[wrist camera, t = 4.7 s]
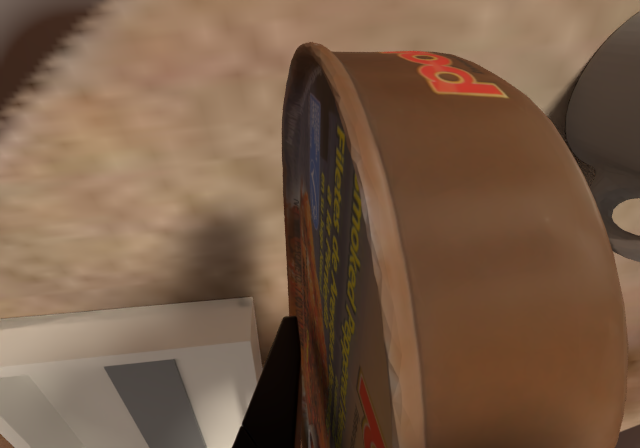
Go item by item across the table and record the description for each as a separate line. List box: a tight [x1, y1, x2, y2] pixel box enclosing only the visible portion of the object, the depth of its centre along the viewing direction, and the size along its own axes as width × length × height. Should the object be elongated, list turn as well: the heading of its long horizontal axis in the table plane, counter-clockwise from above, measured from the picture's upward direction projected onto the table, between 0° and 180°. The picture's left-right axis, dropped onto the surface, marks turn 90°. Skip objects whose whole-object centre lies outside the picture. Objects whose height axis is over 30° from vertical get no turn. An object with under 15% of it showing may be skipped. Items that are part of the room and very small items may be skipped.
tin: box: [282, 42, 628, 448], centre depth 8 cm, size 15×3×8 cm, turn 179°
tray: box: [0, 297, 263, 448], centre depth 28 cm, size 18×22×4 cm
